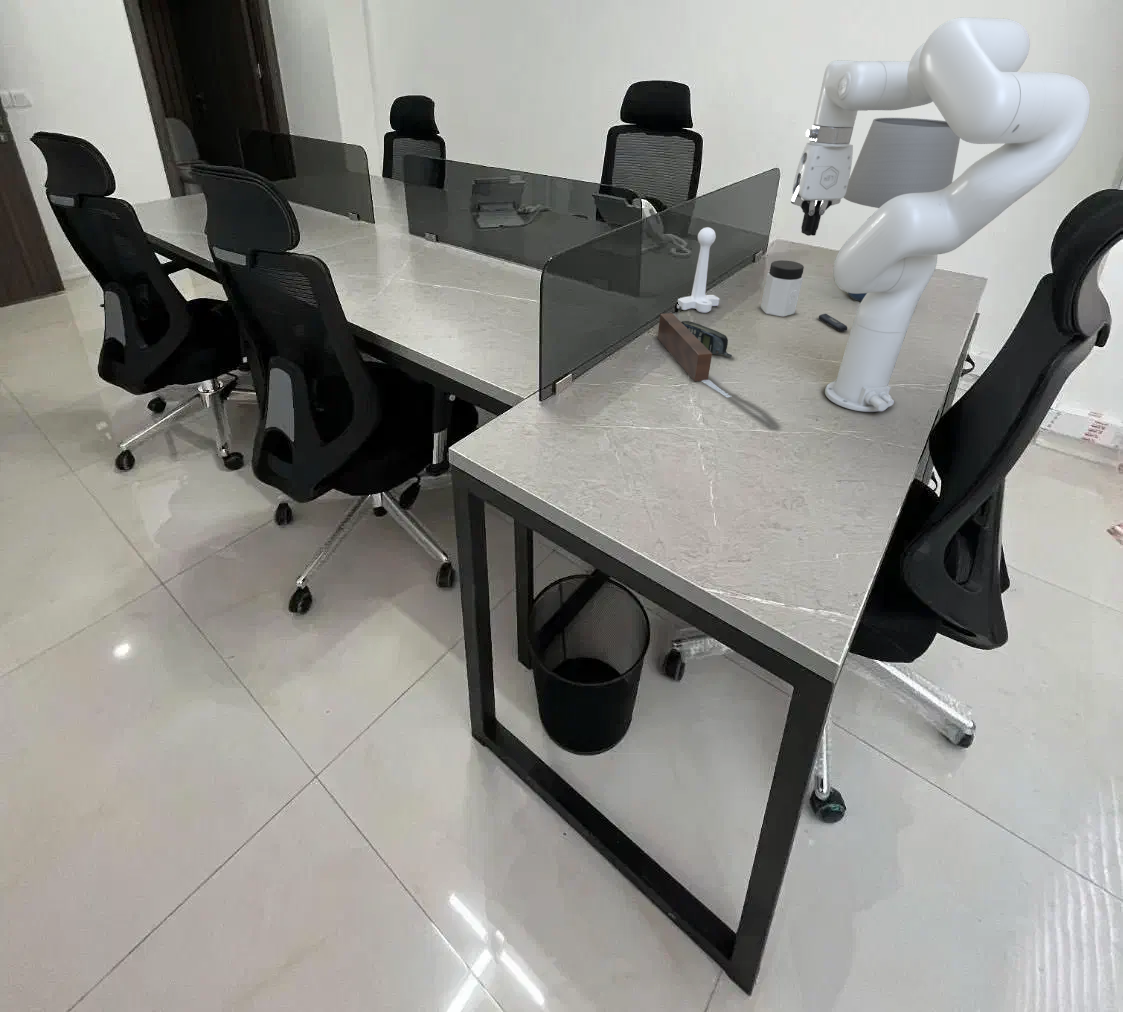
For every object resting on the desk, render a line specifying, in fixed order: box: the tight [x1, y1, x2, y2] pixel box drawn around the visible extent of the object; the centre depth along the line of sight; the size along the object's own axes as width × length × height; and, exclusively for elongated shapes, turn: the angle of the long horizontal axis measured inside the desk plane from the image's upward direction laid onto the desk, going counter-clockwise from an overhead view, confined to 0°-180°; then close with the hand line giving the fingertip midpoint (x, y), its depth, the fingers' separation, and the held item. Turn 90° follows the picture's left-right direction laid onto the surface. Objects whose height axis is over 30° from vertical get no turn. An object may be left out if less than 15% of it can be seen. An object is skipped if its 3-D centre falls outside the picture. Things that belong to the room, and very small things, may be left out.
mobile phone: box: [680, 320, 733, 358], centre depth 150 cm, size 5×3×15 cm
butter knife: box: [701, 378, 732, 398], centre depth 132 cm, size 1×27×3 cm
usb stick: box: [818, 313, 848, 333], centre depth 165 cm, size 10×3×2 cm, turn 15°
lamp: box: [842, 117, 961, 302], centre depth 171 cm, size 25×25×43 cm
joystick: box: [676, 226, 720, 314], centre depth 168 cm, size 11×8×20 cm
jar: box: [760, 259, 805, 317], centre depth 170 cm, size 9×8×12 cm
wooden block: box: [657, 312, 713, 382], centre depth 145 cm, size 24×3×6 cm, turn 12°
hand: (808, 233), depth 140 cm, fingers closed
